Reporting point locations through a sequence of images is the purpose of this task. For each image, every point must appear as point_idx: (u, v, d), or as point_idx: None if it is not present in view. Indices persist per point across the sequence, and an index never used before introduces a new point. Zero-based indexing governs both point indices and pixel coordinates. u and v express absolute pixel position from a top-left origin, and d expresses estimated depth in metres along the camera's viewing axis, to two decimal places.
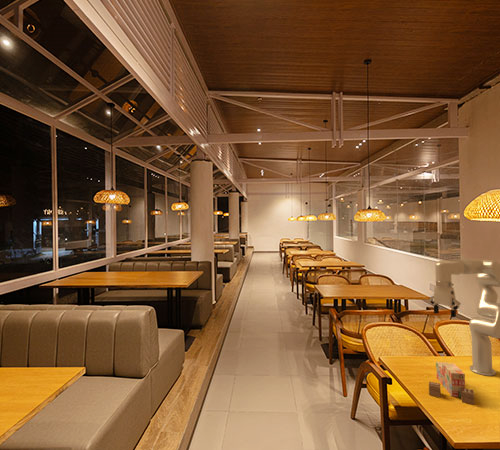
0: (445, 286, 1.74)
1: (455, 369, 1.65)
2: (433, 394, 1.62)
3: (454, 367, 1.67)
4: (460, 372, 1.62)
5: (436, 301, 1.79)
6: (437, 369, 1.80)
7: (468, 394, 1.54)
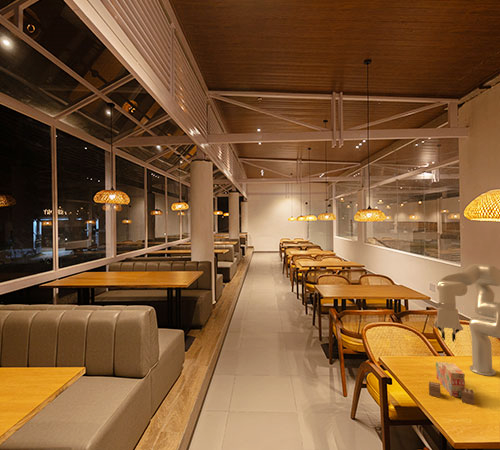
0: None
1: (455, 369, 1.65)
2: (433, 394, 1.62)
3: (454, 367, 1.67)
4: (460, 372, 1.62)
5: None
6: (437, 369, 1.80)
7: (468, 394, 1.54)
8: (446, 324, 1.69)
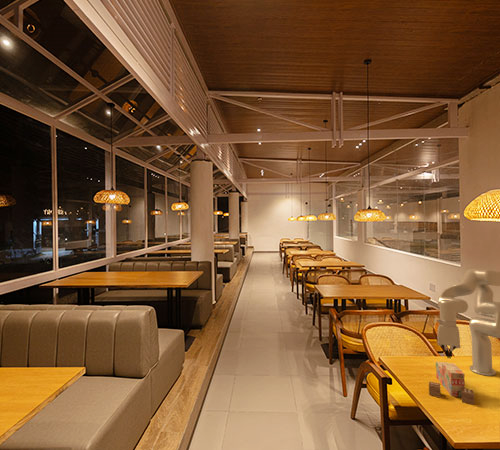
0: None
1: (455, 369, 1.65)
2: (433, 394, 1.62)
3: (454, 367, 1.68)
4: (460, 372, 1.62)
5: None
6: (437, 369, 1.80)
7: (468, 394, 1.54)
8: (447, 341, 1.69)
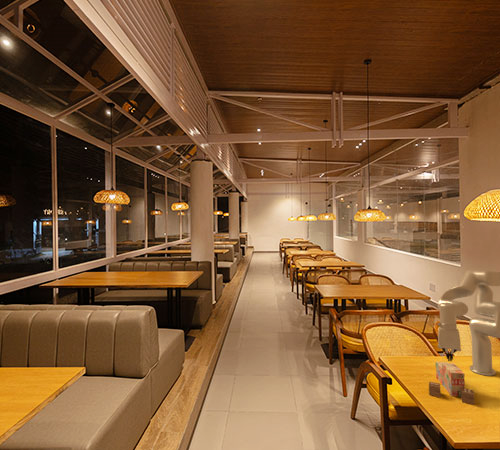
0: None
1: (455, 369, 1.65)
2: (433, 394, 1.62)
3: (454, 367, 1.68)
4: (460, 372, 1.62)
5: None
6: (437, 369, 1.80)
7: (468, 394, 1.54)
8: (447, 344, 1.69)
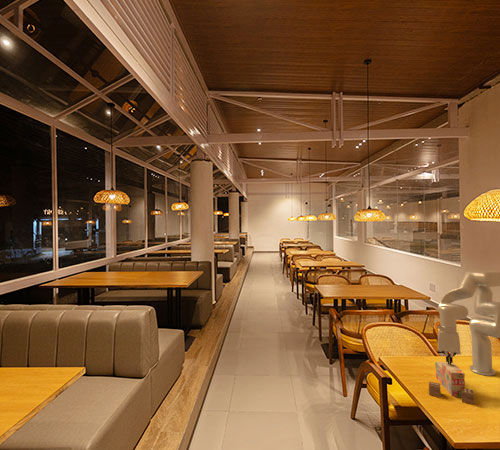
0: None
1: (455, 369, 1.65)
2: (433, 394, 1.62)
3: (454, 367, 1.68)
4: (460, 371, 1.62)
5: None
6: (436, 369, 1.80)
7: (468, 394, 1.54)
8: (447, 347, 1.69)
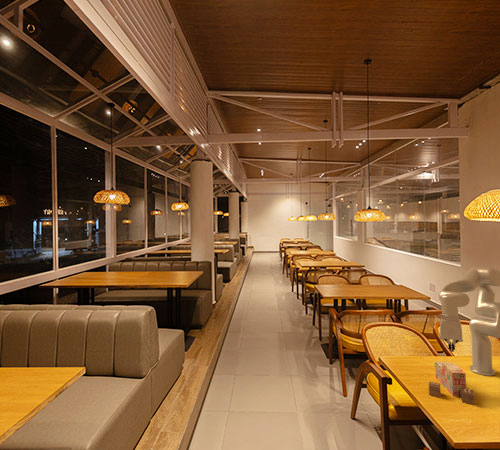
0: None
1: (455, 368, 1.66)
2: (433, 394, 1.62)
3: (454, 366, 1.68)
4: (461, 371, 1.62)
5: None
6: (436, 368, 1.81)
7: (468, 394, 1.54)
8: (449, 335, 1.70)
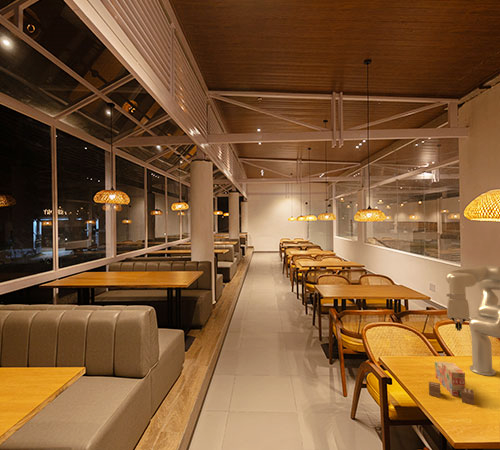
0: None
1: (455, 368, 1.66)
2: (433, 394, 1.62)
3: (454, 366, 1.68)
4: (460, 371, 1.63)
5: None
6: (436, 368, 1.81)
7: (468, 394, 1.54)
8: (457, 314, 1.74)
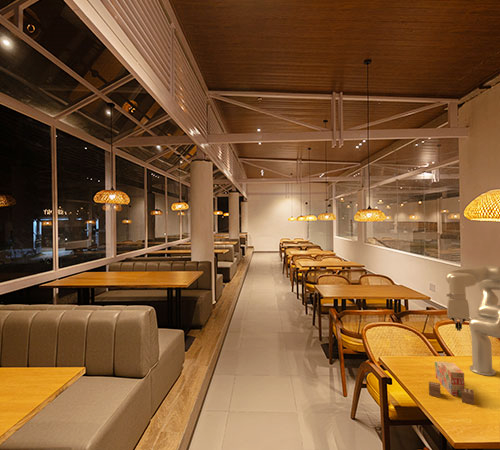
0: None
1: (454, 368, 1.66)
2: (433, 394, 1.62)
3: (453, 366, 1.68)
4: (459, 371, 1.63)
5: None
6: (436, 368, 1.81)
7: (468, 394, 1.54)
8: (457, 314, 1.74)
